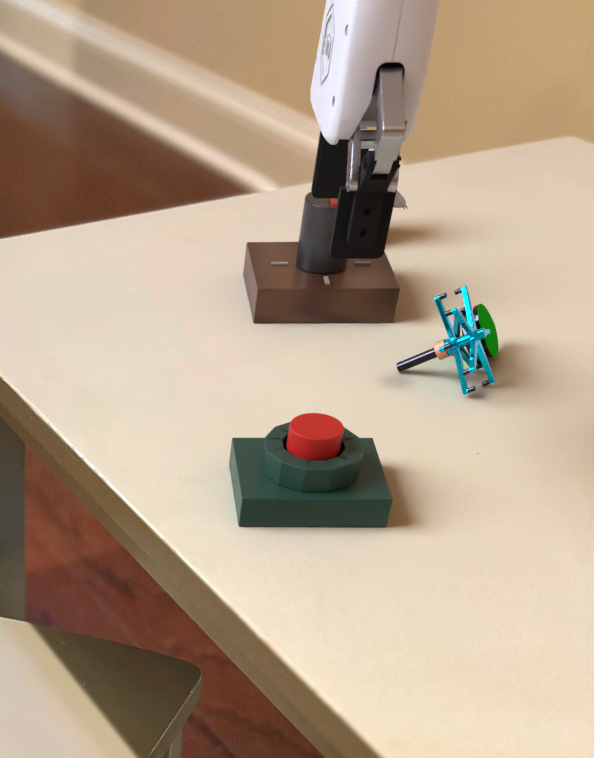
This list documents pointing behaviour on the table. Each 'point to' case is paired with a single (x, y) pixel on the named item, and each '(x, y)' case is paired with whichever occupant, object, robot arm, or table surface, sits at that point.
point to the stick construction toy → (463, 340)
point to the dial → (318, 236)
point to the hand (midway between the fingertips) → (344, 225)
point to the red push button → (315, 436)
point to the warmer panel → (316, 288)
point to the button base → (308, 484)
